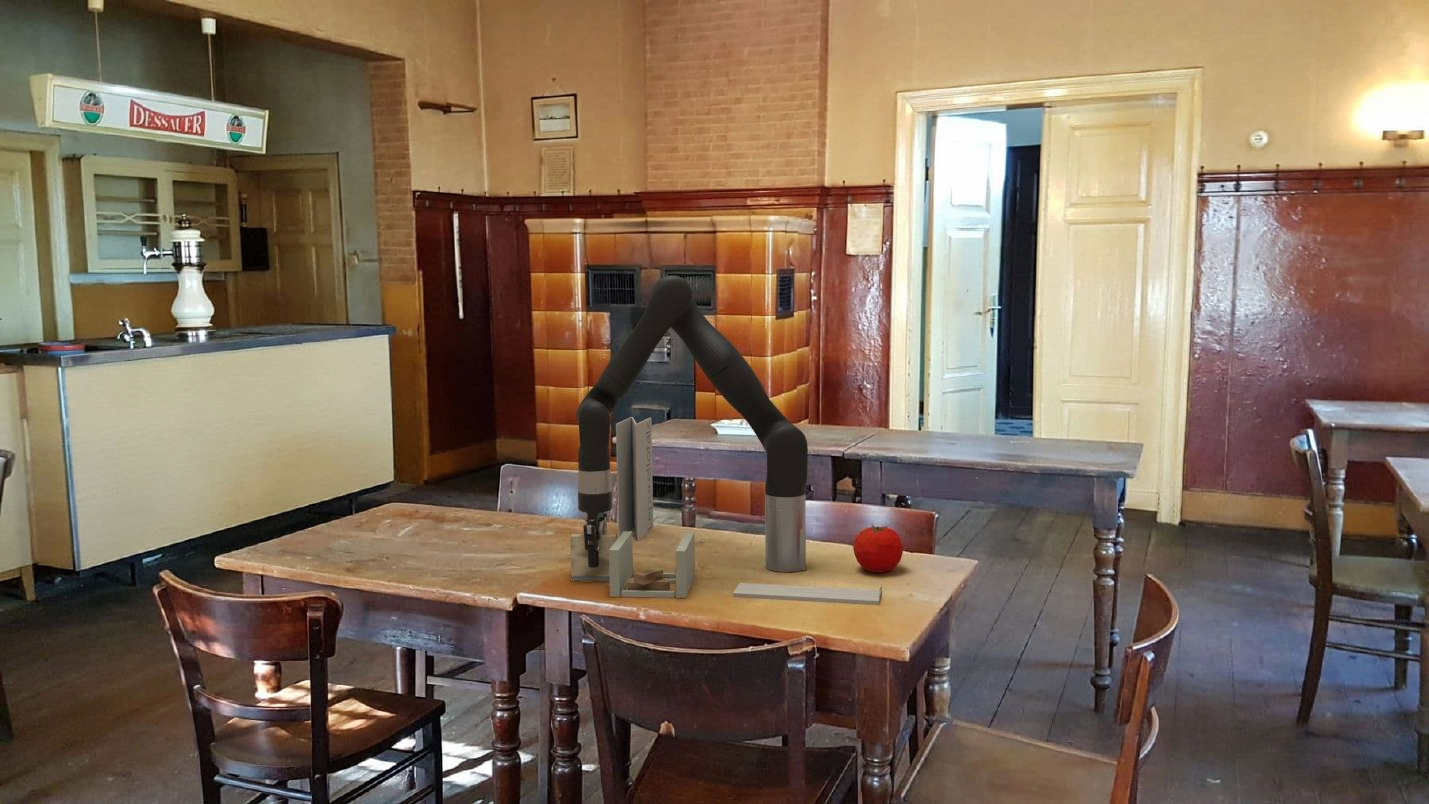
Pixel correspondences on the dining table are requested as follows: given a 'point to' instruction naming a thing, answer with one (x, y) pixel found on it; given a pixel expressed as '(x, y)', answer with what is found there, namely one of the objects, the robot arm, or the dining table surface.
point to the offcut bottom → (650, 585)
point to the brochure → (634, 476)
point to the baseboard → (808, 593)
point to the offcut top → (648, 576)
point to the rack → (684, 573)
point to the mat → (591, 578)
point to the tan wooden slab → (581, 555)
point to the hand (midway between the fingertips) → (596, 563)
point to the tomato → (878, 549)
